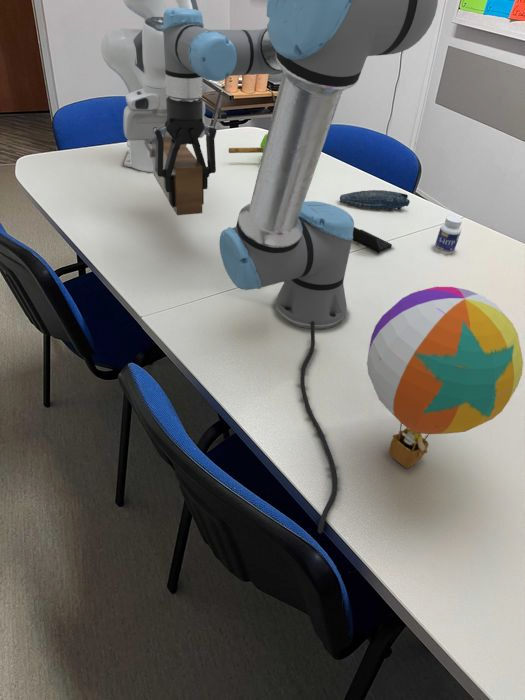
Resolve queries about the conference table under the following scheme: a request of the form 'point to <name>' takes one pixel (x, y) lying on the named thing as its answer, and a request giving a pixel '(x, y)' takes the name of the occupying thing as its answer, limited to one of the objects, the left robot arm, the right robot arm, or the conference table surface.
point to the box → (183, 179)
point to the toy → (442, 365)
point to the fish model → (376, 199)
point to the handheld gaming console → (370, 241)
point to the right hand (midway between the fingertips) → (186, 203)
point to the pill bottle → (448, 235)
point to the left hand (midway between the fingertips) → (166, 156)
